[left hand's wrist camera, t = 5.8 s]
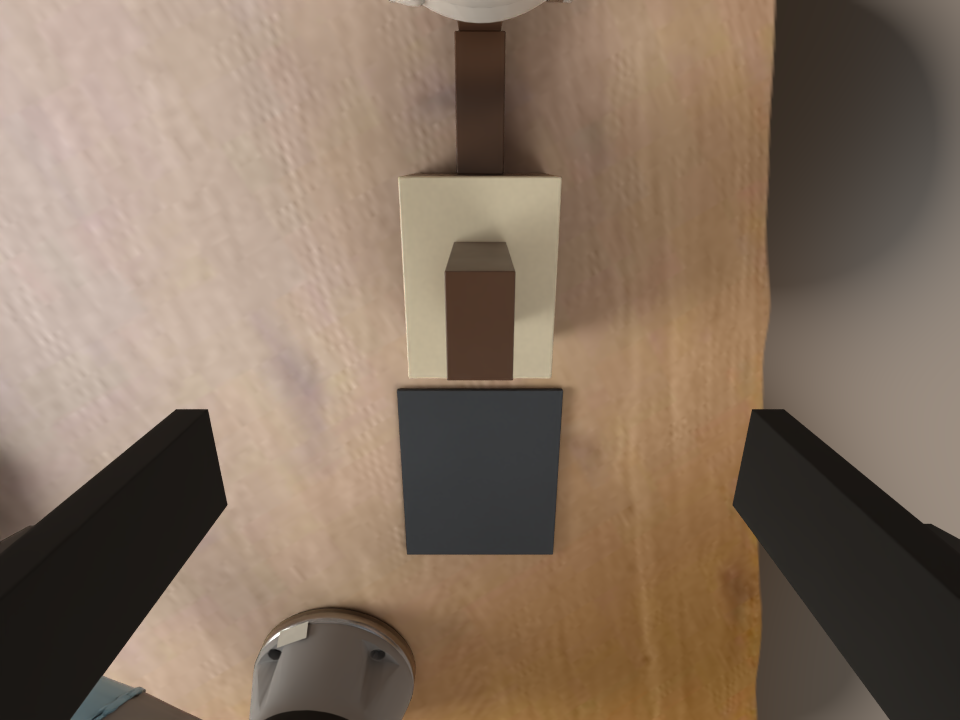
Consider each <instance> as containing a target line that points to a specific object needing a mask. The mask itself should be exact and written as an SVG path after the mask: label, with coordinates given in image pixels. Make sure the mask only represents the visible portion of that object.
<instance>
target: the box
mask: <svg viewBox="0 0 960 720" xmlns="http://www.w3.org/2000/svg"><path fill="white" fill-rule="evenodd" d="M457 21H458V27H459V31H455V86H456V154H457V174H411V175H406V176H554V175H549V174H503V154H504V87H505V31H501V27H502V21H498V22H492V23H471V22H464V21H459V20H457Z"/></svg>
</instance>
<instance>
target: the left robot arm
mask: <svg viewBox="0 0 960 720" xmlns="http://www.w3.org/2000/svg"><path fill="white" fill-rule="evenodd" d="M226 506H227V500H226V495H225V491H224V486H223V481H222V476H221V471H220V466H219V461H218V456H217V452H216V447H215V442H214V437H213V432H212V427H211V422H210V417H209V412H208V409H176V410H175V411H174V412H172V413H171V414H170V415H169V416H167V417H166V418H165V419H164V420H163V421H161V422H160V423H159V424H158V425H156V426H155V427H154V428H153V429H152V430H150V431H149V432H148V433H147V434H145V435H144V436H143V437H142V438H141V439H139V440H138V441H137V442H136V443H135V444H133V445H132V446H131V447H130V448H128V449H127V450H126V451H125V452H124V453H122V454H121V455H120V456H119V457H117V458H116V459H115V460H114V461H113V462H111V463H110V464H109V465H108V466H106V467H105V468H104V469H103V470H102V471H100V472H99V473H98V474H97V475H95V476H94V477H93V478H92V479H91V480H89V481H88V482H87V483H86V484H85V485H83V486H82V487H81V488H80V489H78V490H77V491H76V492H75V493H74V494H72V495H71V496H70V497H69V498H67V499H66V500H65V501H64V502H63V503H61V504H60V505H59V506H58V507H56V508H55V509H54V510H53V511H52V512H50V513H49V514H48V515H47V516H46V517H44V518H43V519H42V520H41V521H39V522H38V523H37V524H36V525H35V526H28V527H26V528H25V529H23V530H21V531H19V532H17V533H15V534H13V535H12V536H10V537H8V538H6V539H4V540H2V541H1V542H0V720H202V719H200V718H197V717H195V716H193V715H191V714H189V713H187V712H184V711H182V710H180V709H178V708H176V707H174V706H172V705H170V704H168V703H166V702H164V701H162V700H160V699H158V698H156V697H154V696H152V695H150V694H148V693H146V690H145V689H143V688H142V687H137V688H133V687H131V686H128V685H125V684H123V683H120V682H117V681H115V680H112V679H109V678H107V677H105V676H103V674H104V673H105V671H106V670H107V669H108V667H109V666H110V665H111V663H112V662H113V661H114V659H115V658H116V656H117V655H118V654H119V652H120V651H121V650H122V648H123V647H124V646H125V644H126V643H127V641H128V640H129V639H130V637H131V636H132V635H133V633H134V632H135V631H136V629H137V628H138V626H139V625H140V624H141V622H142V621H143V620H144V618H145V617H146V616H147V614H148V613H149V611H150V610H151V609H152V607H153V606H154V605H155V603H156V602H157V600H158V599H159V598H160V596H161V595H162V594H163V592H164V591H165V590H166V588H167V587H168V585H169V584H170V583H171V581H172V580H173V579H174V577H175V576H176V575H177V573H178V572H179V570H180V569H181V568H182V566H183V565H184V564H185V562H186V561H187V560H188V558H189V557H190V555H191V554H192V553H193V551H194V550H195V549H196V547H197V546H198V545H199V543H200V542H201V540H202V539H203V538H204V536H205V535H206V534H207V532H208V531H209V530H210V528H211V527H212V525H213V524H214V523H215V521H216V520H217V519H218V517H219V516H220V514H221V513H222V512H223V510H224V509H225V508H226ZM733 506H734V508H735V509H736V510H737V512H738V513H739V514H740V516H741V517H742V519H743V520H744V521H745V523H746V524H747V525H748V527H749V528H750V530H751V531H752V532H753V534H754V535H755V536H756V538H757V539H758V540H759V542H760V543H761V545H762V546H763V547H764V549H765V550H766V551H767V553H768V554H769V555H770V557H771V558H772V560H773V561H774V562H775V564H776V565H777V566H778V568H779V569H780V570H781V572H782V573H783V575H784V576H785V577H786V579H787V580H788V581H789V583H790V584H791V585H792V587H793V588H794V590H795V591H796V592H797V594H798V595H799V596H800V598H801V599H802V600H803V602H804V603H805V605H806V606H807V607H808V609H809V610H810V611H811V613H812V614H813V616H814V617H815V618H816V620H817V621H818V622H819V624H820V625H821V626H822V628H823V629H824V630H825V632H826V633H827V635H828V636H829V637H830V639H831V640H832V641H833V643H834V644H835V646H836V647H837V648H838V650H839V651H840V652H841V654H842V655H843V656H844V658H845V659H846V661H847V662H848V663H849V665H850V666H851V667H852V669H853V670H854V671H855V673H856V674H857V676H858V677H859V678H860V680H861V681H862V682H863V684H864V685H865V687H866V688H867V689H868V691H869V692H870V693H871V695H872V696H873V697H874V699H875V700H876V702H877V703H878V704H879V706H880V707H881V708H882V710H883V711H884V712H885V714H886V715H887V717H888V718H889V719H890V720H960V539H958V538H956V537H954V536H953V535H951V534H949V533H947V532H945V531H943V530H941V529H940V528H938V527H936V526H934V525H932V524H923V523H922V522H921V521H919V520H918V519H917V518H916V517H914V516H913V515H912V514H911V513H910V512H908V511H907V510H906V509H905V508H903V507H902V506H901V505H900V504H899V503H897V502H896V501H895V500H894V499H893V498H891V497H890V496H889V495H888V494H886V493H885V492H884V491H883V490H882V489H880V488H879V487H878V486H877V485H875V484H874V483H873V482H872V481H871V480H869V479H868V478H867V477H866V476H865V475H863V474H862V473H861V472H860V471H858V470H857V469H856V468H855V467H854V466H852V465H851V464H850V463H849V462H847V461H846V460H845V459H844V458H843V457H841V456H840V455H839V454H838V453H836V452H835V451H834V450H833V449H832V448H830V447H829V446H828V445H827V444H825V443H824V442H823V441H822V440H821V439H819V438H818V437H817V436H816V435H814V434H813V433H812V432H811V431H810V430H808V429H807V428H806V427H805V426H804V425H802V424H801V423H800V422H799V421H797V420H796V419H795V418H794V417H793V416H791V415H790V414H789V413H788V412H786V411H785V410H784V409H752V412H751V417H750V422H749V427H748V432H747V437H746V442H745V447H744V452H743V456H742V461H741V466H740V471H739V476H738V481H737V486H736V491H735V495H734V500H733ZM414 680H415V661H414V657H413V654H412V652H411V650H410V648H409V646H408V644H407V643H406V642H405V640H404V639H403V638H402V637H401V636H400V635H399V634H398V633H397V632H396V631H395V630H394V629H393V628H391V627H390V626H388V625H387V624H385V623H384V622H382V621H380V620H378V619H376V618H374V617H372V616H370V615H367V614H364V613H360V612H357V611H352V610H347V609H338V608H323V609H315V610H309V611H305V612H302V613H299V614H296V615H294V616H292V617H289V618H287V619H286V620H284V621H283V622H281V623H280V624H279V625H277V626H276V627H275V628H274V629H273V630H272V631H271V632H270V634H269V635H268V636H267V638H266V640H265V642H264V644H263V646H262V648H261V651H260V653H259V655H258V657H257V660H256V663H255V667H254V673H253V684H252V695H251V707H250V718H249V720H402V718H403V716H404V714H405V712H406V710H407V708H408V705H409V702H410V700H411V698H412V694H413V688H414Z"/></svg>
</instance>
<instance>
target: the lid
mask: <svg viewBox="0 0 960 720" xmlns="http://www.w3.org/2000/svg"><path fill="white" fill-rule="evenodd" d="M398 185H399V204H400V223H401V242H402V261H403V280H404V299H405V318H406V337H407V356H408V375H409V378H447V380H513V378H551V376H552V357H553V338H554V318H555V299H556V280H557V261H558V242H559V223H560V204H561V185H562V178H561V177H559V176H401V177H399V178H398Z"/></svg>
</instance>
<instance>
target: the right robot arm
mask: <svg viewBox="0 0 960 720" xmlns="http://www.w3.org/2000/svg"><path fill="white" fill-rule="evenodd" d="M389 1H390V2H391V3H393V2H397V3H400V4H403V5H407V6H413V7H418V6H421V5H423V6H425V7H426V8H428V9H430V10H431V11H434V12H436V13H438V14H440V15H442V16H445V17H448V18H451V19H454V20H459V21H464V22H471V23H492V22H498V21H504V20H507V19H511V18H514V17H517V16H519V15H522V14H524V13H526V12H528V11H530V10H532V9H534V8H536V7H537V6H539V5H540V4H542V3H543V2H545V1H546V2H572V0H389Z"/></svg>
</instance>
